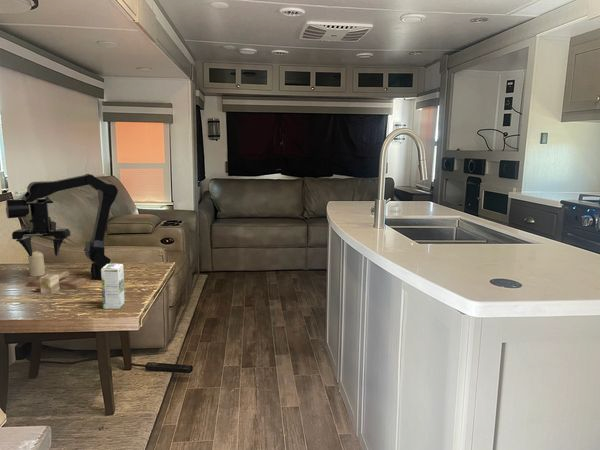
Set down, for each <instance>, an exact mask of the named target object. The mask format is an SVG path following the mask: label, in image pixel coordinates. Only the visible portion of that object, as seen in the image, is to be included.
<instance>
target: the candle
mask: <svg viewBox="0 0 600 450" xmlns="http://www.w3.org/2000/svg"><path fill="white" fill-rule="evenodd" d="M44 258H45V257H44V254H43V252H41V251H36V250H35V251H32V256H29V254H28V255H27V261H28V268H29V276H30V277H32V278H36V277H37V276H38V277H43V276H45V275H46V270H45V269H46V267H45V260H44Z"/></svg>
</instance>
